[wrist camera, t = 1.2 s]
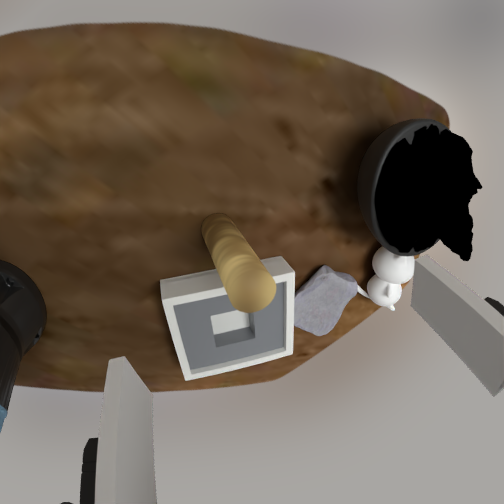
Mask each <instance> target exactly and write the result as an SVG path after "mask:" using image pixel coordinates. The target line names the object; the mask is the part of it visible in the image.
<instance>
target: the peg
mask: <svg viewBox="0 0 504 504" xmlns="http://www.w3.org/2000/svg"><path fill="white" fill-rule="evenodd" d="M201 233H202V236H203V238H204V241H205V243H206V246H207V248H208V250H209V253H210V255H211V258H212V260H213V262H214V265H215V267H216V269H217V272H218V274H219V276H220V279H221V281H222V283H223V286H224V288H225V290H226V293H227V295H228V297H229V300H230V302H231V304H232V306H233V307H234V308H235V309H237V310H238V311H240V312H244V313H253V312H257V311H260V310H262V309H263V308H265V307H266V306H268V305H269V304H270V303H271V301H272V300H273V298H274V296H275V294H276V283H275V280H274V279H273V277H272V276H271V275H270V273H269V272H268V270H267V269H266V268H265V266H264V265H263V263H262V262H261V261H260V259H259V258H258V256H257V255H256V254H255V252H254V251H253V249H252V248H251V247H250V245H249V244H248V243H247V241H246V240H245V238H244V237H243V236H242V234H241V233H240V231H239V230H238V229H237V227H236V226H235V224H234V223H233V222H232V220H231V219H230V218H229V217H228V216H227V215H225V214H222V213H215V214H212V215H210V216H208V217H207V218H206V219H205V220H204V222H203V223H202V227H201Z"/></svg>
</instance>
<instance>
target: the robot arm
mask: <svg viewBox="0 0 504 504" xmlns="http://www.w3.org/2000/svg"><path fill="white" fill-rule="evenodd" d="M411 307H412V308H413V309H414V310H415V311H416V312H417V313H418V314H419V315H420V316H421V317H422V318H423V319H424V320H425V321H426V322H427V323H428V324H429V325H430V326H431V327H432V328H433V329H434V331H435V332H436V333H437V334H439V336H440V337H441V338H442V339H443V340H444V341H445V342H446V343H447V344H448V345H449V347H450V348H451V349H452V350H453V351H454V352H455V353H456V354H457V355H458V356H459V358H460V359H461V360H462V361H463V362H464V363H465V364H466V365H467V366H468V368H470V370H471V371H472V372H473V373H474V374H475V375H476V377H477V378H478V379H479V380H480V381H481V382H482V384H483V385H484V386H485V387H486V388H487V389H488V391H489V392H490V393H491V394H492V396H495V395H497V394H498V393H499V392H500V391H501V390H503V388H504V306H503V305H502V304H500V303H499V302H498V301H496V300H494V299H491V298H489V297H487V298H485V299H483V298H482V297H480V296H479V295H478V294H477V293H476V292H474V291H473V290H472V289H471V288H469V287H468V286H467V285H466V284H464V283H463V282H462V281H461V280H459V279H458V278H457V277H456V276H454V275H453V274H452V273H451V272H449V271H448V270H447V269H445V268H444V267H443V266H441V265H440V264H439V263H437V262H436V261H435V260H434V259H432V258H431V257H430V256H428V255H424V256H422V257H420V258H417V259H415V263H414V279H413V289H412V299H411ZM45 323H46V307H45V303H44V300H43V297H42V295H41V293H40V291H39V290H38V288H37V286H36V285H35V284H34V282H33V281H32V280H31V279H30V278H29V277H28V276H27V275H26V274H25V273H24V272H23V271H22V270H20V269H19V268H17V267H16V266H14V265H12V264H10V263H7V262H5V261H1V260H0V432H1V429H2V426H3V422H4V419H5V418H6V416H7V410H8V406H9V402H10V398H11V393H12V390H13V386H14V382H15V379H16V375H17V372H18V368H19V365H20V361H21V359H22V357H23V356H24V355H25V354H26V353H27V352H28V351H29V350H30V349H31V348H32V347H33V346H34V345H35V344H36V343H37V341H38V340H39V339H40V337H41V335H42V332H43V329H44V326H45ZM154 470H155V469H154V449H153V394H152V393H151V392H150V391H149V389H148V388H147V387H146V385H145V384H144V383H143V381H142V380H141V379H140V377H139V376H138V374H137V373H136V372H135V370H134V369H133V368H132V366H131V365H130V363H129V362H128V360H127V359H126V358H125V356H123V357H119V358H115V359H111V360H109V364H108V370H107V376H106V382H105V389H104V396H103V403H102V411H101V419H100V428H99V438H90V439H89V440H88V442H87V444H86V446H85V448H84V453H83V464H82V474H81V489H80V504H157V499H156V485H155V471H154ZM61 504H72V503H70V502H63V503H61Z"/></svg>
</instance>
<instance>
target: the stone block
mask: <svg viewBox="0 0 504 504" xmlns="http://www.w3.org/2000/svg"><path fill="white" fill-rule="evenodd" d="M357 291H358V285H357V282H356V280H355V279H354V278H353V277H352V276H350V275H349V274H347V273H341V272H335V271H333V270H332V269H331V268H330V267H328V266H326V265H323V266H322V267H321V268H320V269H319V270H318V271H317V272H316V273H315V274H314V275H313V276H312V277H311V278H310V279H309V280H308V281H307V282H306V283H305V284H304V285H302V286H301V287H300V289H299V290H298V291H297V292H296V293H295V294H294V326H296V327H299V328H301V329H303V330H305V331H308V332H311V333H313V334H314V335H316V336H322V335H324V334H327V333H328V332H329V331H331V330H332V329H333V327H334V326H335V325H336V323H337V321H338V320H339V318H340V316H341V314H342V311H343V309H344V307H345V305H346V304H347V303H348V302H349V300H350V299H351V298H353V297H354V296H355V295H356V293H357Z"/></svg>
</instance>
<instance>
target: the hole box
mask: <svg viewBox="0 0 504 504" xmlns="http://www.w3.org/2000/svg"><path fill="white" fill-rule="evenodd" d="M260 261H261V262H262V263H263V265H264V266H265V268H266V269H267V270H268V272H269V273H270V275H271V276H272V277H273V279H274V280H275V283H276V294H275V296H274V298H273V300H272V301H271V303H270V304H269V305H268V306H266V307H265V308H263V309H262V310H260V311H257V312H253V313H244V312H240V311H238V310H237V309H235V308H234V307H233V306H232V304H231V302H230V300H229V297H228V295H227V293H226V290H225V288H224V286H223V283H222V281H221V279H220V276H219V274H218V272H217V269H213V270H208V271H203V272H198V273H193V274H188V275H183V276H178V277H173V278H168V279H163V280H160V287H161V298H162V303H163V307H164V310H165V314H166V318H167V321H168V325H169V328H170V332H171V335H172V339H173V342H174V346H175V349H176V352H177V355H178V359H179V362H180V365H181V368H182V371H183V374H184V377H185V380H186V381H187V380H192V379H197V378H201V377H206V376H211V375H215V374H219V373H224V372H228V371H232V370H236V369H240V368H244V367H248V366H252V365H255V364H259V363H263V362H267V361H270V360H274V359H277V358H281V357H284V356H288V355H291V354H293V333H294V292H295V271H294V270H293V269H292V268H291V267H290V266H289V264H288V263H287V262H286V261H285V260H284V259H283V257H282V256H277V257H273V258H268V259H263V260H260Z"/></svg>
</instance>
